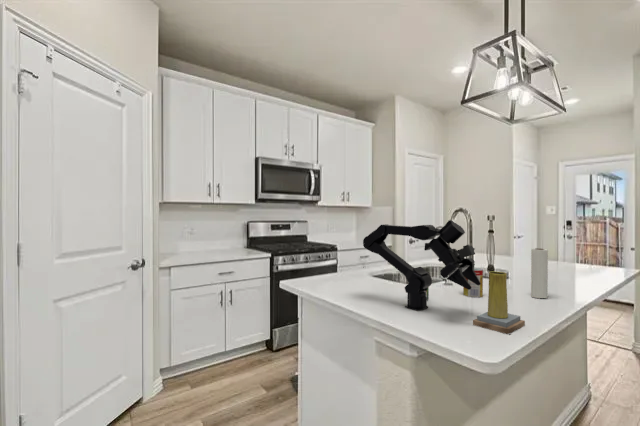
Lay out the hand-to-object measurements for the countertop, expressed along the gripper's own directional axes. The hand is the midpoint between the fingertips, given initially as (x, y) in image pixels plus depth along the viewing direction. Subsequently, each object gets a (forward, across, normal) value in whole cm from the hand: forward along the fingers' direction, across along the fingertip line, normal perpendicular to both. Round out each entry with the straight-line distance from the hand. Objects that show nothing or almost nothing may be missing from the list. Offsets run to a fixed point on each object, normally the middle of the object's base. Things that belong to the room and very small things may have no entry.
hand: (475, 286), depth 117 cm
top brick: (+12, 0, +2) cm, 12 cm away
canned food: (-1, +36, +17) cm, 40 cm away
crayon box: (-11, +13, +28) cm, 32 cm away
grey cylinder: (+15, +53, +1) cm, 55 cm away
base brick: (+13, 0, +3) cm, 14 cm away
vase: (+11, 0, +1) cm, 11 cm away
